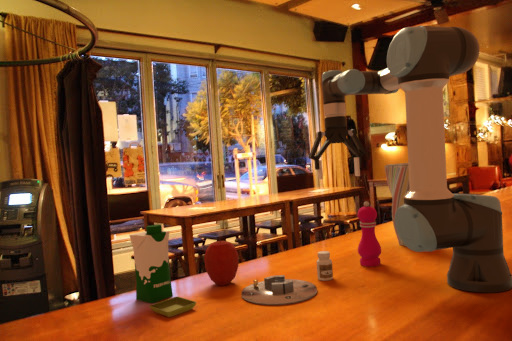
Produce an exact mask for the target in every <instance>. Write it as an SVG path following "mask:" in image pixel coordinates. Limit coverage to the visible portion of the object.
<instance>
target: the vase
mask: <svg viewBox="0 0 512 341" xmlns="http://www.w3.org/2000/svg"><path fill="white" fill-rule="evenodd" d="M384 172H385V177H386V182H387V185H388V189H389V193H390V194H391V198H392V200H391V203H392V204H391V218H392V224H393V228H394V231H395V232H394V233H395V235H396V239H397V242H398V246H403V247H406V246H405V244H404V243H403V242H402V240H401V239H400V237H399V235H398V233H397V230H396V227H395V213H396V212H397V211H396V210H397V209H398V208H399V207H400V206H402V205H404V195H405V194H406V193H407V192H408V191H409V189H410V185H409V164H408V162H405V163H393V164H392V163H390V164H386V165H385V166H384Z"/></svg>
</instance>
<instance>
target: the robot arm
mask: <svg viewBox="0 0 512 341" xmlns="http://www.w3.org/2000/svg"><path fill="white" fill-rule="evenodd" d="M386 54H387V55H386V66H387V67H386V68H383V69H381V70H373V71H372V70H369V71H367V70H366V71H365V70H364V71H363V70H362V71H360V70H359V69H356V68H352V69H347V70H345V71H342V70H340V69H333V70H328V71H324V72H323V73H322V74H321V89H322V90H321V91H322V104H323V105H322V106H323V116H324V131H320V130H319V131H316V134H315V140H314V142H313V145H312V148H311V150H310V152H309V155H308V159H309V160H313V161H314V169H315V170H316V171H317V180H323V179H324V176H323V162H322V160H321V157H322V156H323V154H324V153H325V152H326V150H328V148H329V147H330V145H331V144H332V145H333V144H344V145H345V146H346V147H347V149H348V150H349V151H350V152H351V153H352V154H353V155H354V156H355V157H353V164H354V166H353V167H354V176H355V177H361V169H360V168H361V167H362V165H363V164H362V162H363V161H362V157H364V156H366V155H367V151H366V149H365V147H364V146H363V144H362V142H361V140H360V139H359V137H358V135H357V130H356V129H355V128H351V129H348V126H347V124H348V122H347V117H346V114H347V110H346V108H347V107H346V97H347V96H356V95H357V96H358V95H359V96H361V95H390V94H396V93H398V91H399V90H400V89H401V90H402V91H403V92H404V97H405V99H404V100H405V117H406V121H405V122H406V137H407V138H406V140H407V158H408V159H407V161H408V162H407V163H408V164H409V185H410V189H409V191H408V192H407V193H406V194H405V195H404V205H402V206H400V207H399V208H398V209H397V210H396V211H397V212H396V213H395V227H396V230H397V233H398V235H399V237H400V239H401V240H402V242H403V243H404V244H405V246H404V247H406V248H408V249H409V250H411V251H413V252H417V253H421V252H422V253H424V252H427V253H429V252H435V251H437V250H438V251H439V250H444V249H452V254H451V255H452V256H451V260H450V262H449V263H450V264H449V269H448V271H447V273H446V278H447V279H446V281H447V284H448V285H449V286H450V287H452V288H454V289H457V290H462V291H466V292H472V293H473V292H474V293H499V292H500V293H501V292H506V291H509V290H511V289H512V273H511V270H510V267H509V265H508V262H507V260H506V257H505V254H504V253H505V252H504V238H503V237H504V235H503V233H504V231H503V211H502V206H501V201H500V199H499V198H498V197H497V196H495V195H486V194H471V193H452V192H451V191H450V190H449V188H448V182H447V180H448V179H447V158H446V156H447V155H446V138H445V132H446V130H445V112H444V111H445V110H444V88H445V86H446V85H447V84H448V83H449V82H450V77H453V76H457V75H461V74H465V73H466V72H468V71H469V70H471V69H473V67H474V66H475V65H476V62H477V61H478V59H479V57H480V43H479V41H478V38H477V37H476V35H475V34H474V33H473V32H472V31H470V30H468V29H466V28H463V27H461V26H430V25H417V26H407V27H403V28H402V29H400V30H399V31H398V32H396V33H395V35H394V36H393V38H392V40H391V42H390V43H389V46H388V49H387V52H386ZM348 135H349V137H351V139H352V141H353V143H354V144H355V146H354V144H353V143H352V142H351V141H350V140H349V139H348ZM324 137H325V138H326V139H325V141H324V142H323V144H322V146H320V143H321V142H322V138H324ZM319 146H320V148H319Z"/></svg>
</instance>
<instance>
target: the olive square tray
mask: <svg viewBox="0 0 512 341" xmlns="http://www.w3.org/2000/svg"><path fill="white" fill-rule="evenodd" d="M197 303H198V302H197V301H194V300H191V299H188V298H184V297H181V296H174V297H170V298H167V299H164V300H161V301H158V302H155V303H153V304H152V303H151V304H150V305H148V307H149V308H150V309H151V310H152V311H153V312H154V313H156V314H159V315H162V316H165V317H168V318H171V317H175V316H178V315H180V314H183V313H186V312H189V311H191V310H193V308H194V307H195V306H196V304H197Z"/></svg>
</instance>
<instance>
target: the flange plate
mask: <svg viewBox="0 0 512 341" xmlns="http://www.w3.org/2000/svg"><path fill="white" fill-rule="evenodd" d="M317 293H318V288H317V285H315V284H314V283H312V282H309V281H306V280H303V279H302V280H301V279H294V278H286V276H285V274H283V275H282V274H280V275H279V274H277V275H270V276H267V277H264V278H263V281H259V279H253V283H252V284H249V285H247V286H245V287H244V288H243V289H242V290H241V297H242V299H243V300H244V301H246V302H247V303H251V304H255V305H261V306H284V305H285V306H286V305H294V304H297V303H302V302H304V301H308V300H310V299H312V298H314V297H316V295H317Z"/></svg>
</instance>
